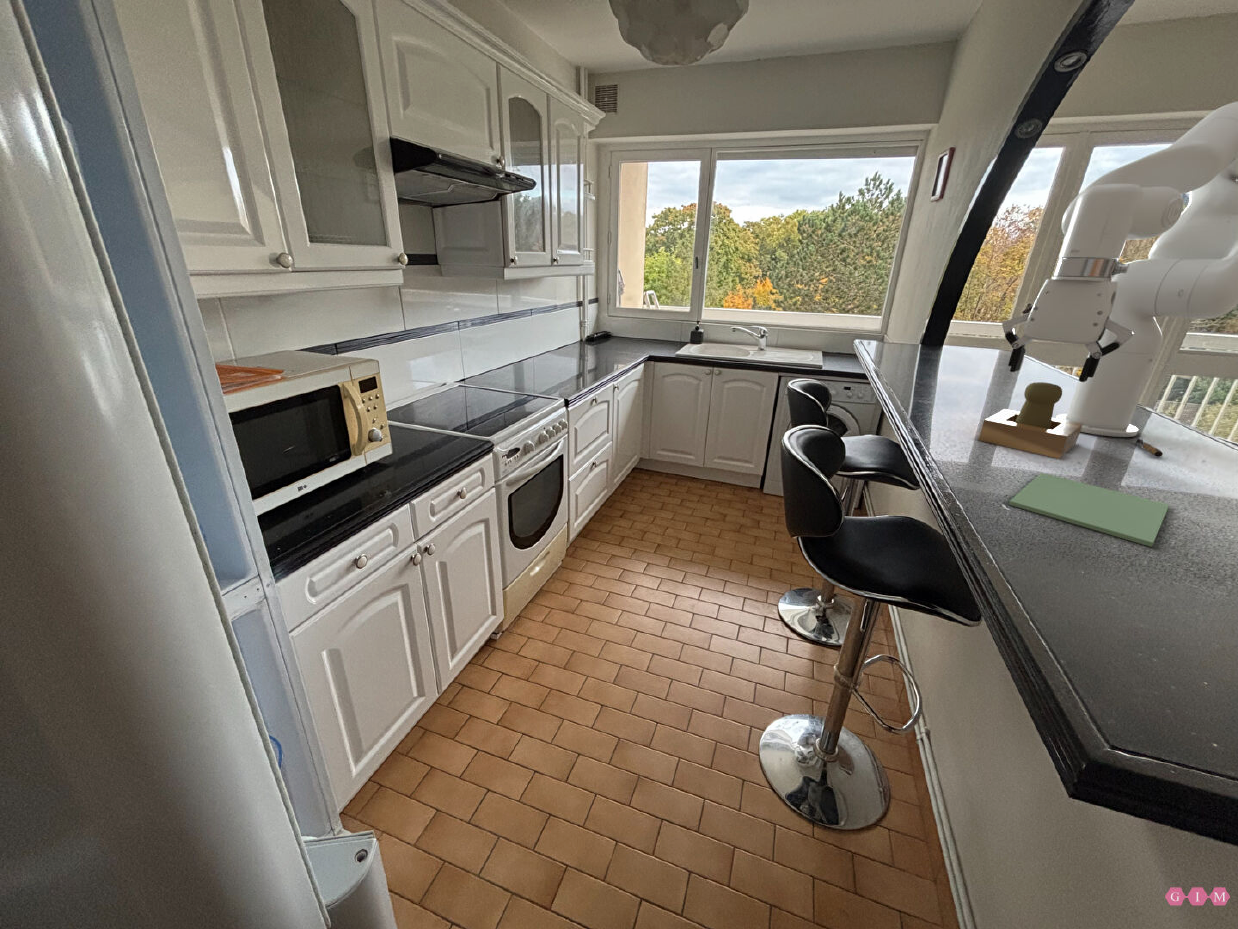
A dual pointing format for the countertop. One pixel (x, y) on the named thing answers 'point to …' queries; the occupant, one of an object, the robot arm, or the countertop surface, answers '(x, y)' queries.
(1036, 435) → the holder
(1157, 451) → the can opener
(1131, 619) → the countertop surface
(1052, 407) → the cork
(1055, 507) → the mat
